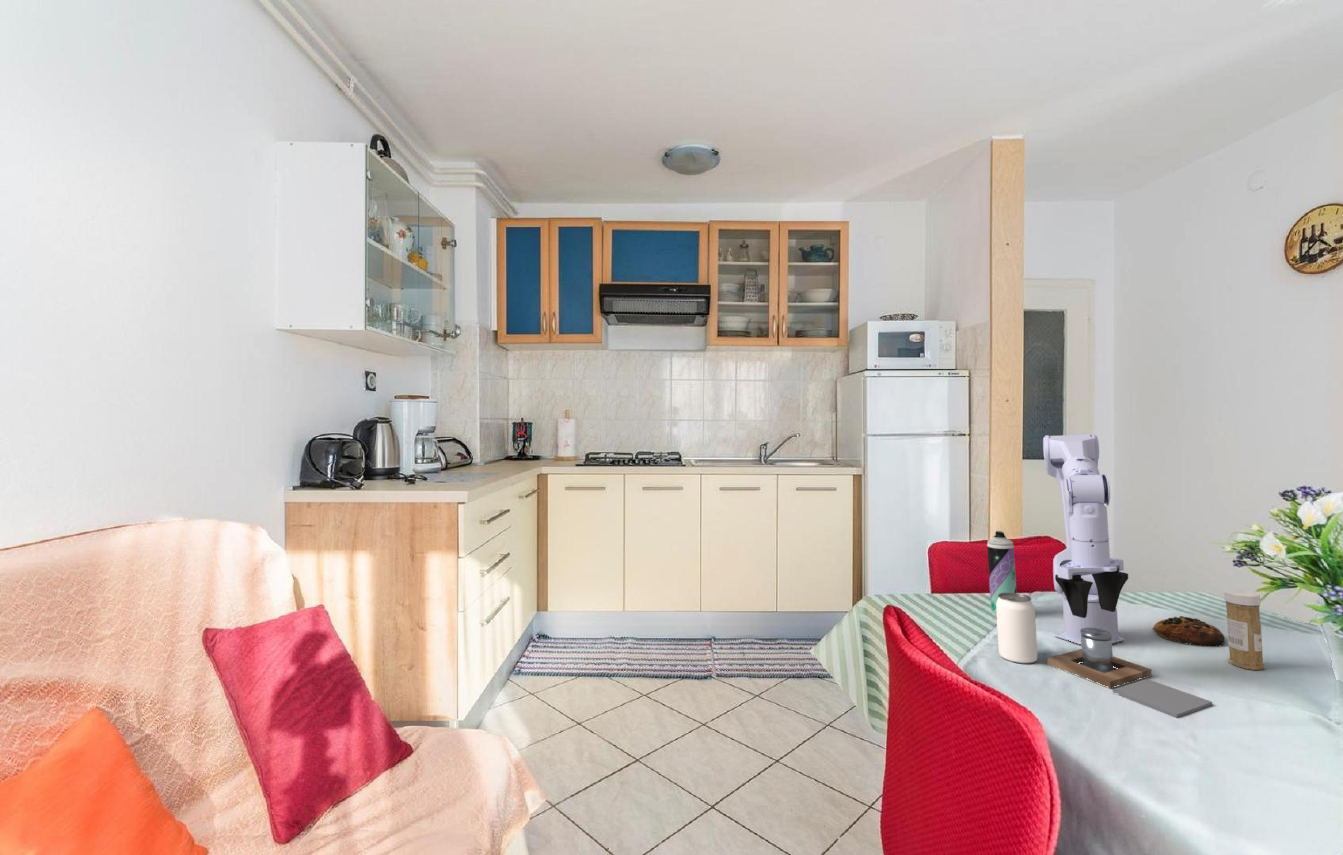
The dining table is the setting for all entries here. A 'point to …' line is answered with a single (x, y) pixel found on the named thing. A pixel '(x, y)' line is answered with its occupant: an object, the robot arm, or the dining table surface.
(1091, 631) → the grey metal cylinder
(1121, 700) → the dining table surface
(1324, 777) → the dining table surface
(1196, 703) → the coaster
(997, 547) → the spray can
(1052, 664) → the collar
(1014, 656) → the can
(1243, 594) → the sprinkles bottle
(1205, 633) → the bread roll
